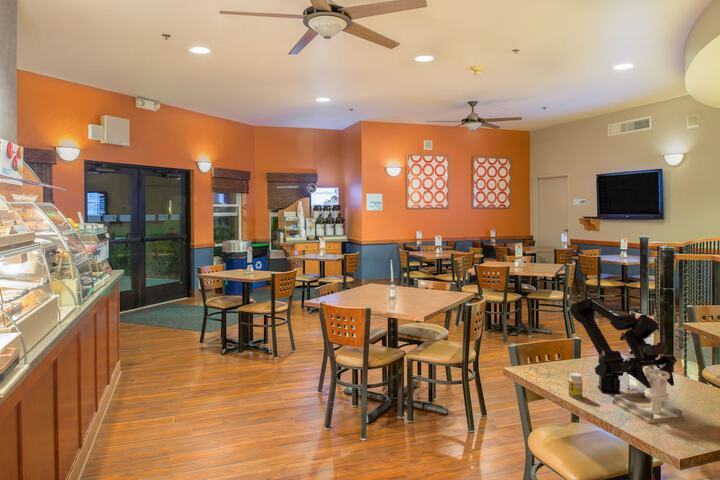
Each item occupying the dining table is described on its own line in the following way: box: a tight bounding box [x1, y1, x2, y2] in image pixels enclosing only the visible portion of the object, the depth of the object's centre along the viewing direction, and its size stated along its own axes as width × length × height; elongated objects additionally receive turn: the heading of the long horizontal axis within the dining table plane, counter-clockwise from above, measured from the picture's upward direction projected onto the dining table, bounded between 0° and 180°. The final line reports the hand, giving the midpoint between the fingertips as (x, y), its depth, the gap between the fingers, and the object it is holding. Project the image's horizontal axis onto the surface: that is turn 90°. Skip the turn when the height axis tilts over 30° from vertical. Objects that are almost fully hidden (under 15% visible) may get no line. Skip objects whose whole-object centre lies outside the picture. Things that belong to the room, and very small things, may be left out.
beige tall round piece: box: [644, 367, 670, 414], centre depth 168 cm, size 7×7×15 cm
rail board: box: [611, 391, 685, 424], centre depth 173 cm, size 17×14×3 cm
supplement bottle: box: [568, 372, 583, 399], centre depth 186 cm, size 5×5×8 cm
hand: (661, 386), depth 166 cm, fingers open, 9 cm apart
